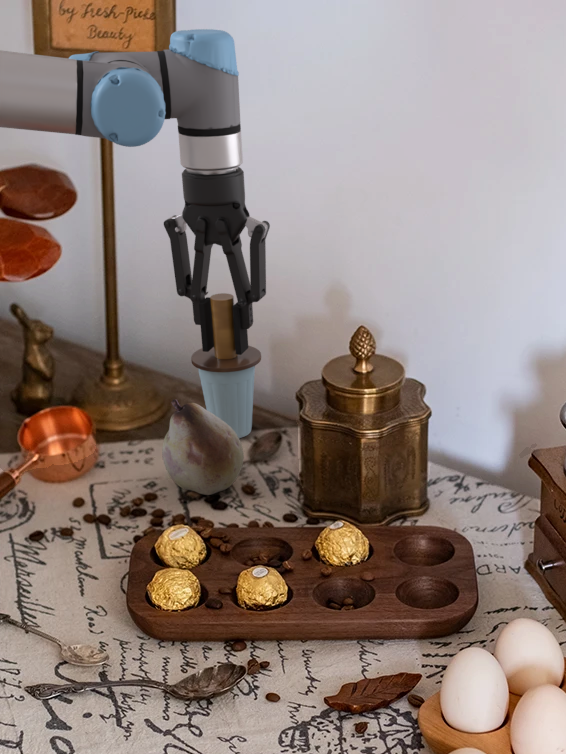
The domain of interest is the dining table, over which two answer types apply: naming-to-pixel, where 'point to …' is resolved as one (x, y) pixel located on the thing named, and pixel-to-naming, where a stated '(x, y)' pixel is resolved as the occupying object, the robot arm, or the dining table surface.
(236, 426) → the cup
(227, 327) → the lid
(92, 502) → the dining table surface
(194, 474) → the fruit
